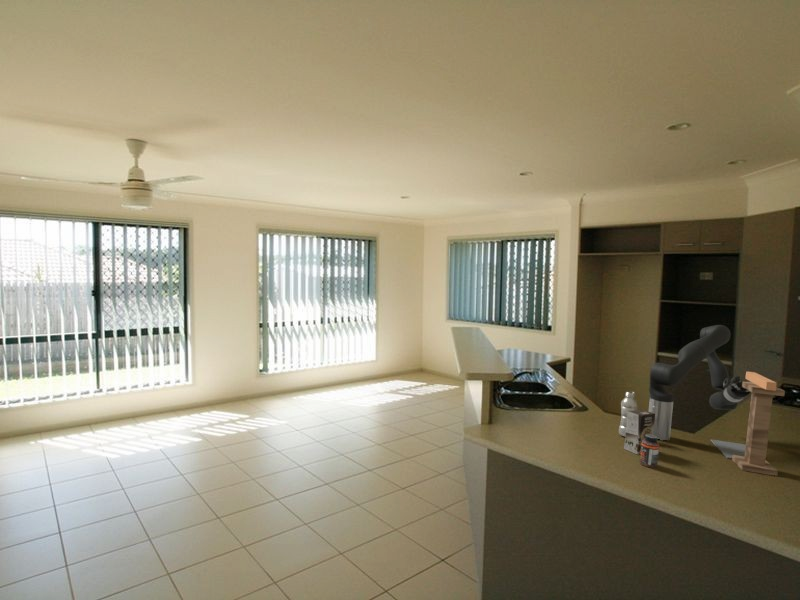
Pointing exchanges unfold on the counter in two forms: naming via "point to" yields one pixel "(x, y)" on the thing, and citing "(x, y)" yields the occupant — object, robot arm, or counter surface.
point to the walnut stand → (758, 430)
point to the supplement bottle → (649, 451)
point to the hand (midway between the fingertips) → (751, 379)
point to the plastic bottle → (626, 410)
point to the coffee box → (638, 429)
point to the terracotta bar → (761, 381)
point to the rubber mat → (730, 448)
